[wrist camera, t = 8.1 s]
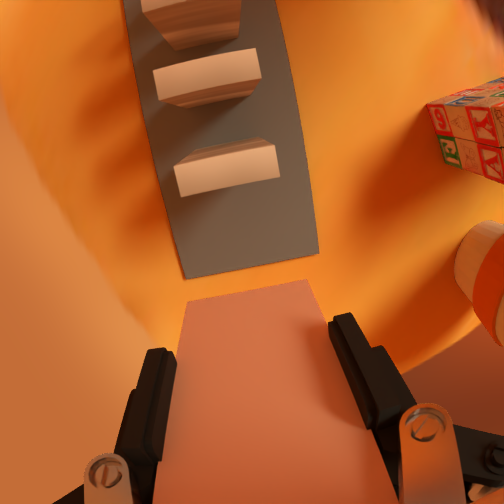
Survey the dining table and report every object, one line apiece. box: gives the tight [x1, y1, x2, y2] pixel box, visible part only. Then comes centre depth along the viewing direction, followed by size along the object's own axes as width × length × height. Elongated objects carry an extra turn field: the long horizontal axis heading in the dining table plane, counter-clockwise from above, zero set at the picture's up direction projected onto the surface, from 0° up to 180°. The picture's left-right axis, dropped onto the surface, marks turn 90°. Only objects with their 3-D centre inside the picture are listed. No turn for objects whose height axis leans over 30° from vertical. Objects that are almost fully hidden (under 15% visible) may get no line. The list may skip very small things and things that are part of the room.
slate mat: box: [123, 0, 319, 279], centre depth 23 cm, size 28×12×1 cm, turn 11°
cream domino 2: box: [153, 48, 262, 109], centre depth 18 cm, size 2×5×10 cm, turn 100°
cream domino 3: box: [173, 137, 280, 197], centre depth 20 cm, size 2×5×10 cm, turn 101°
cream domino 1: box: [141, 0, 242, 51], centre depth 16 cm, size 2×5×10 cm, turn 101°
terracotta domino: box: [152, 279, 399, 504], centre depth 9 cm, size 2×5×10 cm, turn 100°
